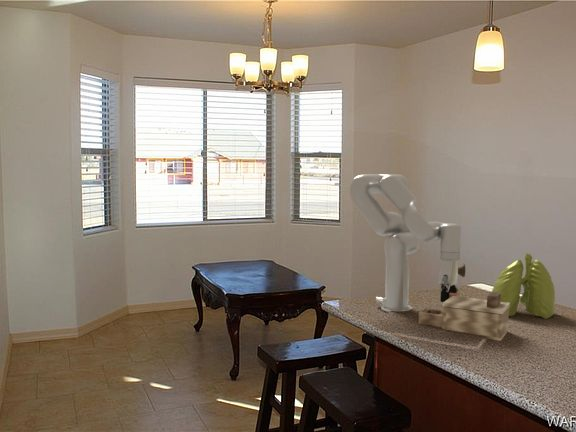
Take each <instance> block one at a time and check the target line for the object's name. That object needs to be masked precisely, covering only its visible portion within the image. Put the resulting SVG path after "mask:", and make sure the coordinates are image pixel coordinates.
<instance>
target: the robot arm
mask: <svg viewBox="0 0 576 432" xmlns="http://www.w3.org/2000/svg"><path fill="white" fill-rule="evenodd" d="M375 194H376V195H377V194H378V195H379V194H380V195H385V197H386V198H387V199H388V200H389V201H390V203H392V205H393V206H394V207H395V208H396V209H397V210H398V211H399V212H400V214H399V213H397V212H395V211H386V210H385V209H384V207H382V205H381V204H380V203H379V201H378V200H377V199H375V198H374V197H373V196H372V195H375ZM349 197H350V200H351V201H352V203H353V205H354V206H355V207H356V209H357V210H358V211H359V213H361V215H362V217H363V218H364V219H365V220H366V222H367V223H368V225H369V226H370V227H371V228H372V230H373V232H374V233H375V234H377V235H378V236H381V237H385V236H387V238H386V239H385V241H384V246H383V248H384V249H383V250H384V255H385V285H384V289H385V291H384V293H385V294H384V297H381V296H380V297H378V296H376V298H375V302H376V303H378V304H382V305H380V308H381V309H380V310H382V311H383V312H387V313H390V312H391V311H392V312H409V311H411V310H413V307H412V305H409V296H410V295H409V293H410V291H409V290H410V262H409V256H408V255H411V254H415V253H416V252H417V251H418V250H419V248H420V242H422V243H429V242H435V241H440V243H439V244H440V245H439V246H440V247H439V250H440V251H439V260H440V265H439V273H438V274H439V275H438V285H439V286H440V300H439V301H440V302H442V303H443V302H445V301H446V300H447V299H449V295H450V293H456V289H458V288H457V283H458V280H459V279H458V277H459V274H458V266H459V261H460V260H461V250H462V249H461V247H462V245H461V244H462V226H461V225H460V224H458V223H453V222H452V223H445V222H441V221H436V220H435V221H426V220H425V218H423V216H422V215H421V214H420V212H419V211H418V208H417V203H418V198H417V197H416V195H414V193H413V192H411V190H410V183H409V180H408V178H407V177H406V176H404V175H403V174H400V173H399V174H397V173H396V174H395V173H394V174H382V173H380V174H379V173H378V174H377V173H376V174H375V173H367V174H360V175H356V176H355V177H354V178H353V179H352V180H351V182H350V183H349Z"/></svg>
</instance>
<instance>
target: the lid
mask: <svg viewBox="0 0 576 432" xmlns="http://www.w3.org/2000/svg"><path fill="white" fill-rule="evenodd" d="M441 305H442V307H444V306H445V307H452V308H459V309H467V310H474V311H481V312H488V313H496V314H503V313H504V312H505V311H506V310H507V309H508V308H509V306H510V303H506V302H501V292H493V291H492V290H491V292H490V293H489V294H487V296H486V299H482V298H474V297H465V296H452V297H450V298H449V299H447V300H446V301H445V302H442V304H441Z"/></svg>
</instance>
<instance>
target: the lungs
mask: <svg viewBox="0 0 576 432" xmlns="http://www.w3.org/2000/svg"><path fill="white" fill-rule="evenodd" d="M524 261H525V262H524V264H525V274H523V272H524V264H523V261H522V260H520V259H517V260H515V261H513V263H511V264H509V265H507V266H506V267H505V268H504V269H503V271H501V273H500V274H498V276H497V280H496V281H495V282H494V285H493V288H492V290H491V292H492V291H493V292H501V302H506V303H510V306H509V317H512V316H515V315H516V314H517V310H518V306H519V303H521V305H523V306H525V309H526V312H527V313H528V314H531V315H534V316H536V317H541V318H543V319H550V318H551V317H552V316H553V315H554V314H555V312H556V305H555V302H556V291H555V285H554V282H553V281H552V280H553V279H552V276H551V274H550V272H549V271H548V268H547V267H546V266H545V265H544V264H543V263H542V262H541V261H540V260H539V259H535V260H533V256H532V254H531V253H525V254H524ZM523 275H524V276H523ZM522 288H523V293H522V295H521V291H522ZM520 295H521V296H520Z"/></svg>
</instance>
